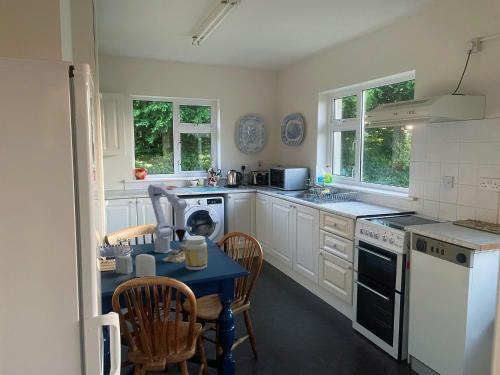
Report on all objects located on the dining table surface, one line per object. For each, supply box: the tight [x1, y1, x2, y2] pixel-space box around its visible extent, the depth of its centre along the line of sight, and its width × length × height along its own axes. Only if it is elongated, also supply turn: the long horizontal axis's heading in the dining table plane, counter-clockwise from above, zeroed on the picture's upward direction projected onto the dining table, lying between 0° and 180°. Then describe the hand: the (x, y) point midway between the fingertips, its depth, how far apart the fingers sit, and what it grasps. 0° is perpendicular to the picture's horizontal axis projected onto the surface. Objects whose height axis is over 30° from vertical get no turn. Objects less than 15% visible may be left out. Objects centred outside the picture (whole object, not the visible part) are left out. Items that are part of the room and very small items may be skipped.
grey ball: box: [177, 243, 185, 252], centre depth 233 cm, size 4×4×4 cm
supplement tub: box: [184, 235, 208, 271], centre depth 212 cm, size 12×12×17 cm
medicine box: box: [114, 255, 134, 275], centre depth 205 cm, size 8×4×9 cm, turn 71°
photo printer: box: [135, 253, 156, 278], centre depth 197 cm, size 10×4×12 cm, turn 77°
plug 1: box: [170, 249, 179, 255], centre depth 226 cm, size 4×4×4 cm
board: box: [162, 248, 185, 264], centre depth 233 cm, size 12×22×4 cm, turn 157°
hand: (181, 241), depth 232 cm, fingers closed
